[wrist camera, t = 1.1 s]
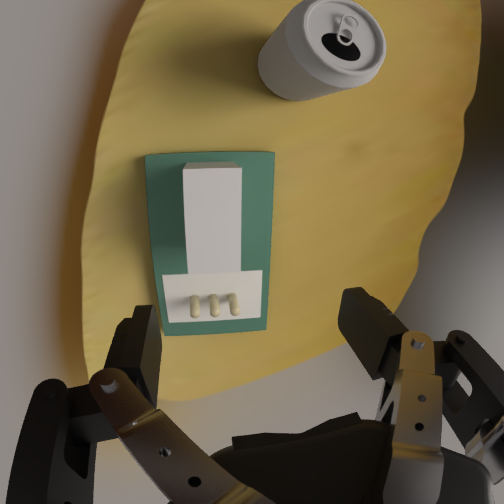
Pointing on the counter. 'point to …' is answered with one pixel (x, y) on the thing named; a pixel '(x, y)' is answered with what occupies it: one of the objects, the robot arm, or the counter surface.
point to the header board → (175, 256)
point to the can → (322, 50)
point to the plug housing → (212, 216)
